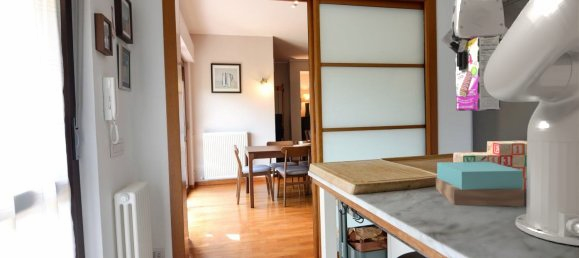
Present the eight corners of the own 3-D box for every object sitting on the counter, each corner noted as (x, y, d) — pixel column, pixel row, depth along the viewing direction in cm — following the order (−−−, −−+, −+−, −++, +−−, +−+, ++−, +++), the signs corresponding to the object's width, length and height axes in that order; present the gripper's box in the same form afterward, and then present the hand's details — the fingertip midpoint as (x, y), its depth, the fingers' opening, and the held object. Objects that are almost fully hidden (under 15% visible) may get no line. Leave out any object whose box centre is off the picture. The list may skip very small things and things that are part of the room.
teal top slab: (522, 188, 68) (522, 170, 68) (461, 189, 69) (461, 171, 69) (488, 176, 81) (488, 161, 81) (437, 177, 82) (437, 162, 82)
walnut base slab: (524, 208, 67) (524, 190, 67) (454, 207, 70) (454, 189, 69) (493, 192, 81) (493, 177, 81) (435, 191, 83) (435, 176, 83)
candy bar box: (454, 111, 80) (454, 46, 79) (474, 110, 80) (474, 45, 79) (477, 110, 69) (477, 35, 68) (501, 110, 68) (501, 34, 68)
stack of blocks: (462, 190, 82) (462, 143, 82) (452, 184, 88) (452, 141, 88) (550, 190, 80) (551, 142, 79) (534, 184, 86) (534, 140, 85)
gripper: (441, -12, 71) (442, 69, 71) (526, -20, 68) (525, 64, 68) (432, 0, 78) (433, 73, 79) (508, -7, 75) (508, 69, 76)
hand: (476, 68), depth 74 cm, fingers closed on candy bar box, 5 cm apart
